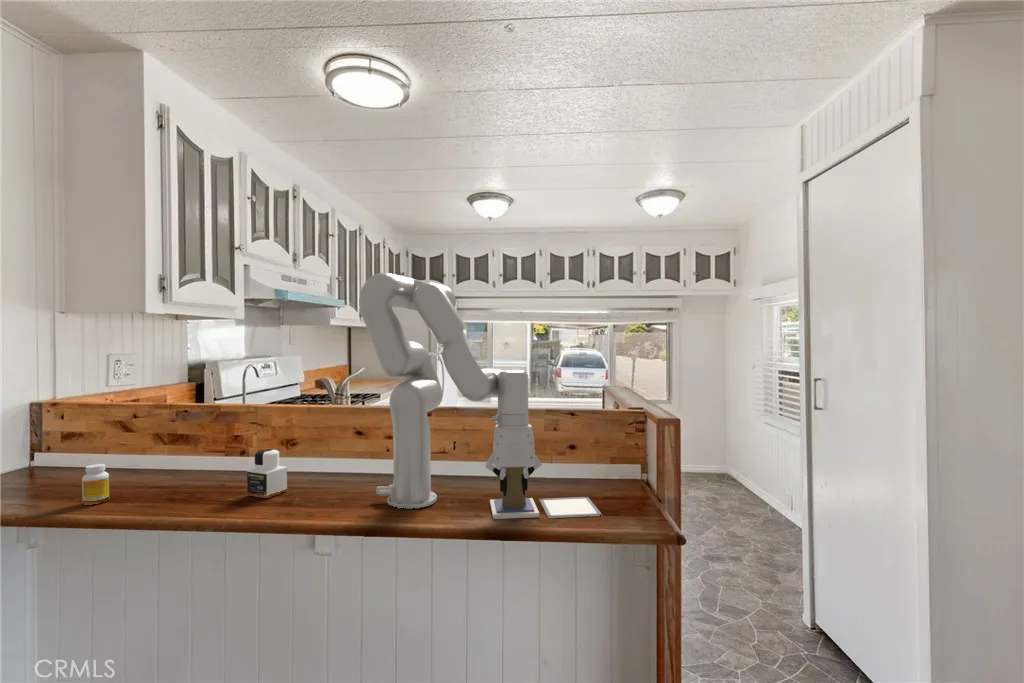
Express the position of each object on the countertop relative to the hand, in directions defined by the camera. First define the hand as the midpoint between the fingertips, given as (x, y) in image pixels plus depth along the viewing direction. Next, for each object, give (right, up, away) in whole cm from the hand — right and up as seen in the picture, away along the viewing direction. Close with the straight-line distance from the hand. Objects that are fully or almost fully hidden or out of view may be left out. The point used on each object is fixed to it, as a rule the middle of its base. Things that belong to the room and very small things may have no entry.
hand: (513, 493), depth 125 cm
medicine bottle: (-67, -4, +13) cm, 69 cm away
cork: (0, -3, 0) cm, 3 cm away
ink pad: (0, -4, 0) cm, 4 cm away
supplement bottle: (-109, -5, +7) cm, 109 cm away
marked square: (+14, -4, +2) cm, 15 cm away
